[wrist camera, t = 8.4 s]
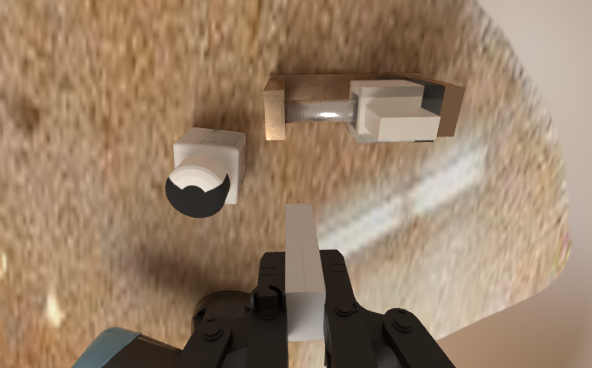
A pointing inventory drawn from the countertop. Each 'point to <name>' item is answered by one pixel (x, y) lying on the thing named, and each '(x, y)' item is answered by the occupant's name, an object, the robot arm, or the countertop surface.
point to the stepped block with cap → (391, 112)
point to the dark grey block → (430, 97)
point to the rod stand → (337, 100)
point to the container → (206, 171)
